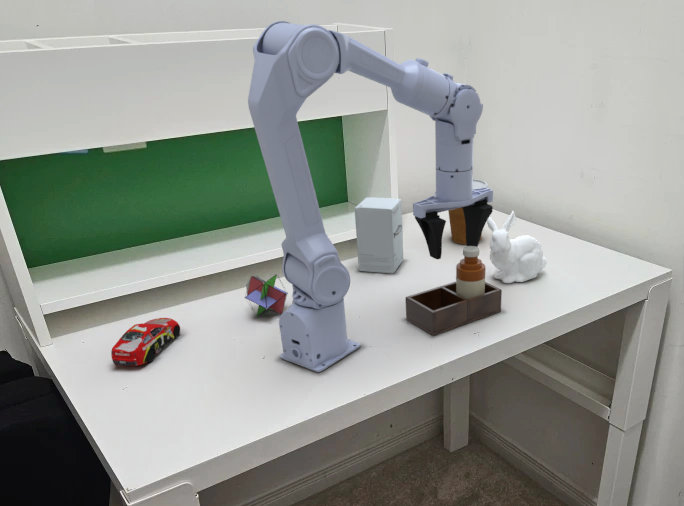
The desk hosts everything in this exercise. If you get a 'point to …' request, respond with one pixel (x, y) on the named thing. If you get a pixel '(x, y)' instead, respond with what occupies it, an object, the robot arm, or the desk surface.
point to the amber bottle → (470, 274)
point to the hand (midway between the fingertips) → (454, 252)
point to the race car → (144, 341)
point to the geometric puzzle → (265, 294)
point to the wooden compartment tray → (450, 308)
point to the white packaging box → (379, 234)
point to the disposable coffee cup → (462, 218)
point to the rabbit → (514, 253)
